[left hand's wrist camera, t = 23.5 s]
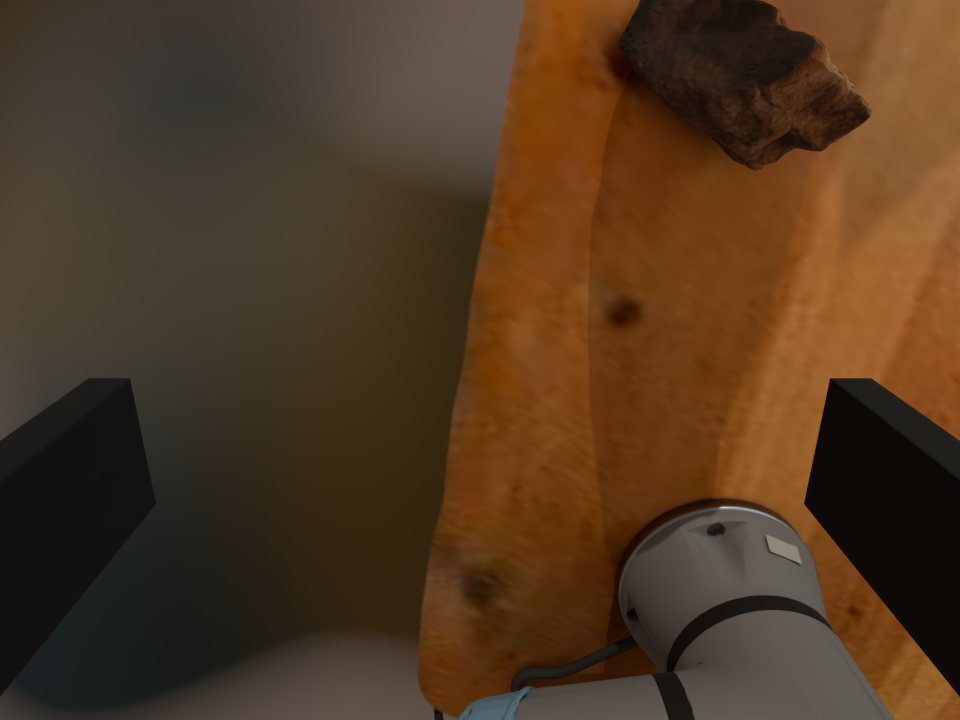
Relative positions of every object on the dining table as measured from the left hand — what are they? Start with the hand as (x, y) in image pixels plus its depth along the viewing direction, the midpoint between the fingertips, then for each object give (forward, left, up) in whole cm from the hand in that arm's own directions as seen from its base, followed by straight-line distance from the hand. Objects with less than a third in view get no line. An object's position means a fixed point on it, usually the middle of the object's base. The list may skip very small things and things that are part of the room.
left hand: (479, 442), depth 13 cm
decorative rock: (+14, -7, -32) cm, 36 cm away
